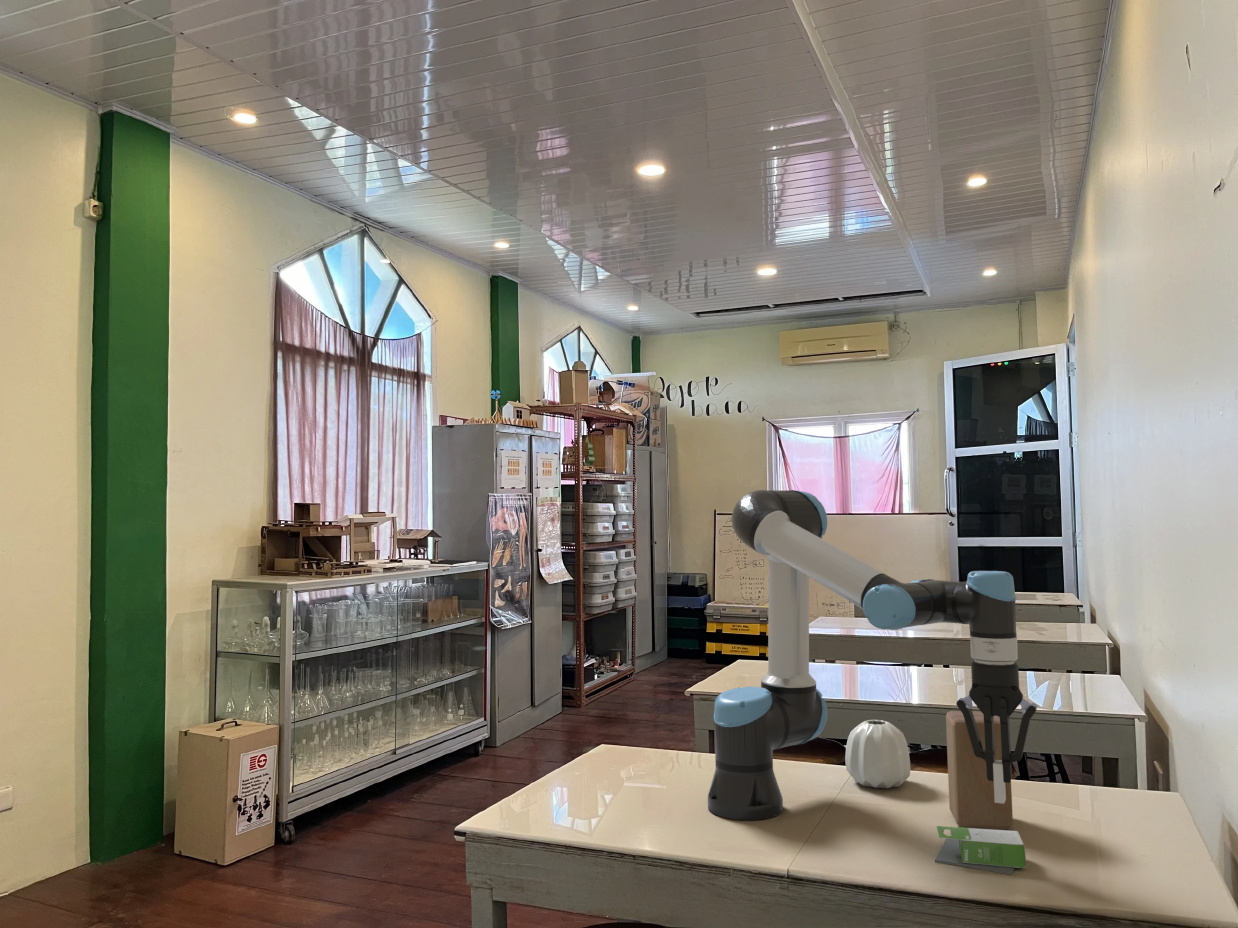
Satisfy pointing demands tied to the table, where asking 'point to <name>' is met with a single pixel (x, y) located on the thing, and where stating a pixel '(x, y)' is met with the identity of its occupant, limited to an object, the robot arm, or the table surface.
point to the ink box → (988, 846)
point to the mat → (953, 857)
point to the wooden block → (974, 777)
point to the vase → (877, 755)
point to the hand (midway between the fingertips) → (1000, 800)
